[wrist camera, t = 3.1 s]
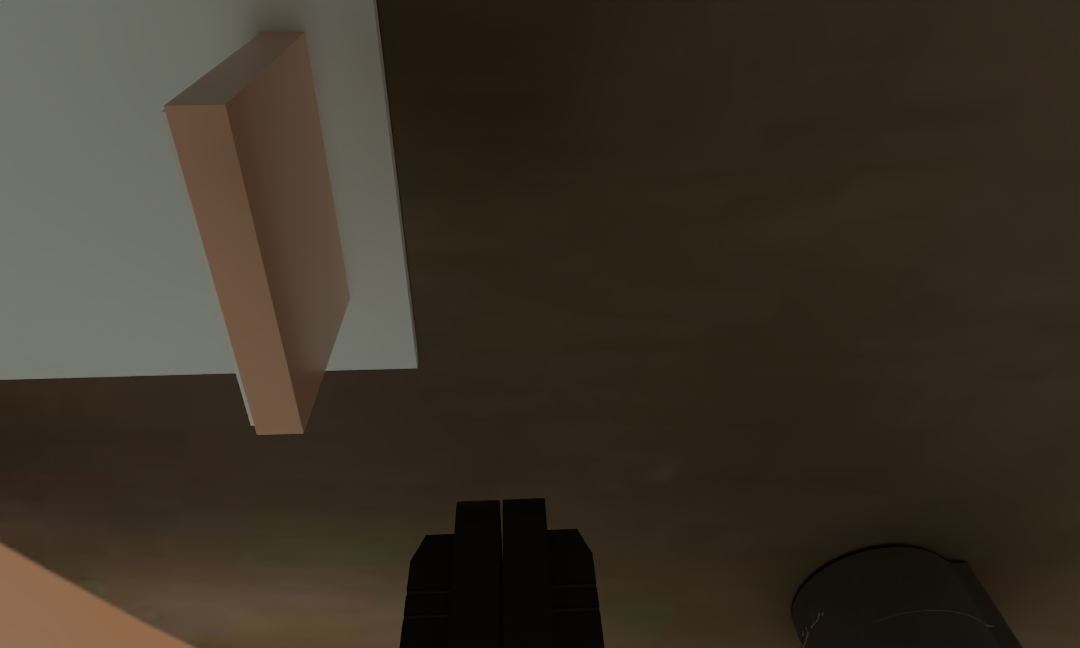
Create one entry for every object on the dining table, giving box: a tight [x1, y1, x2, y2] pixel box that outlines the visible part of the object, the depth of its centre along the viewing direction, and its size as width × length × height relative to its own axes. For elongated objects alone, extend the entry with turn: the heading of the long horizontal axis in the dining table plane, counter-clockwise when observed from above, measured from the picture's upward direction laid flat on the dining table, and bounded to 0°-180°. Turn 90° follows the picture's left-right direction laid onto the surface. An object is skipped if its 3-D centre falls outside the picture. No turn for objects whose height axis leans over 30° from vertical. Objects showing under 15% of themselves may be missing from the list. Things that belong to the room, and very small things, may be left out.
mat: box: [0, 0, 419, 380], centre depth 26 cm, size 18×17×1 cm
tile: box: [161, 32, 350, 435], centre depth 23 cm, size 2×10×8 cm, turn 0°
